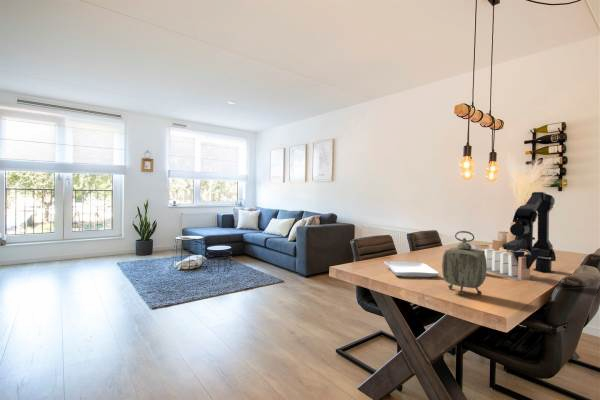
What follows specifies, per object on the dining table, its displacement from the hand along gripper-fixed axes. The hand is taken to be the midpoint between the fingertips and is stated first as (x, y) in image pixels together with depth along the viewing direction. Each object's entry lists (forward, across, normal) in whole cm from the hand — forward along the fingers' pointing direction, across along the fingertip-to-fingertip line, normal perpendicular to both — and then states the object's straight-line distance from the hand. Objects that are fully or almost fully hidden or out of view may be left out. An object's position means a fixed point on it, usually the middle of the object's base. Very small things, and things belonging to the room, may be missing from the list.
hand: (524, 267), depth 146 cm
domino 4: (+5, -5, 0) cm, 7 cm away
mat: (+6, -10, 0) cm, 12 cm away
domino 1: (+5, -20, 0) cm, 21 cm away
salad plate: (+6, -20, -47) cm, 51 cm away
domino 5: (+5, 0, 0) cm, 5 cm away
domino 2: (+5, -15, 0) cm, 16 cm away
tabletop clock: (+6, +13, -44) cm, 46 cm away
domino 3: (+5, -10, 0) cm, 11 cm away
